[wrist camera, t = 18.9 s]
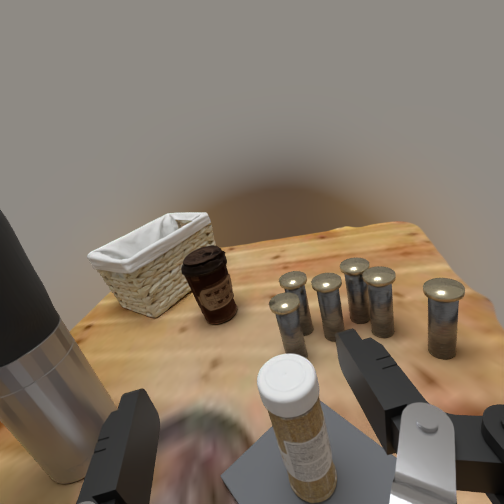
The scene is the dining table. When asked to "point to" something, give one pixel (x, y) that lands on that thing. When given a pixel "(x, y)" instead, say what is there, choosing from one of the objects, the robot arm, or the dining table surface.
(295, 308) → the posts
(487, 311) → the dining table surface
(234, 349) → the dining table surface
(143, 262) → the storage basket
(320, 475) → the sprinkles bottle
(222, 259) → the coffee cup
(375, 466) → the rubber mat
